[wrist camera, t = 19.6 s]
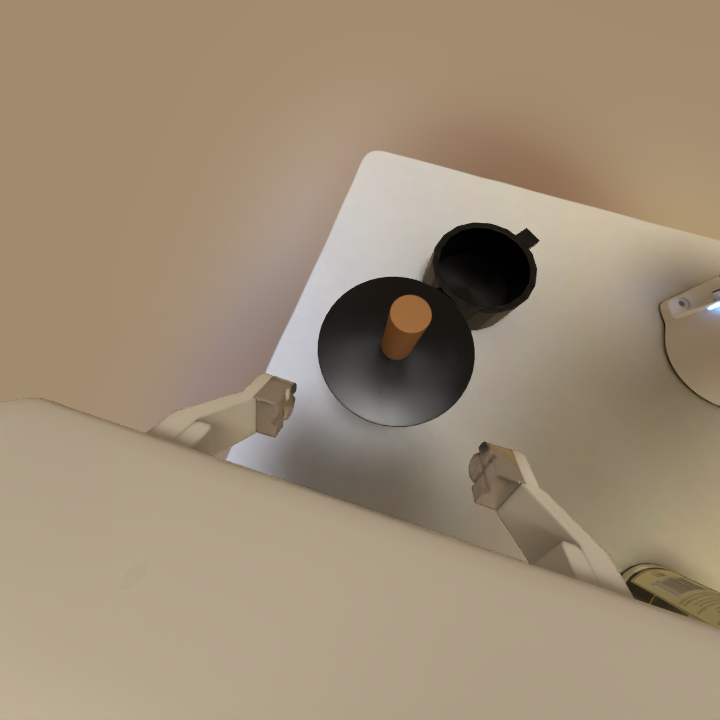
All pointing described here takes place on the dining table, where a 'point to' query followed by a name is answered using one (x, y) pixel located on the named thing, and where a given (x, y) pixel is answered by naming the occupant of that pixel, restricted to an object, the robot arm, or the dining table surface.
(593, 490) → the dining table surface
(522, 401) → the dining table surface
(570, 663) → the robot arm
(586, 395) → the dining table surface
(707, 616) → the coffee can
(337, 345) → the lid
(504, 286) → the pan
